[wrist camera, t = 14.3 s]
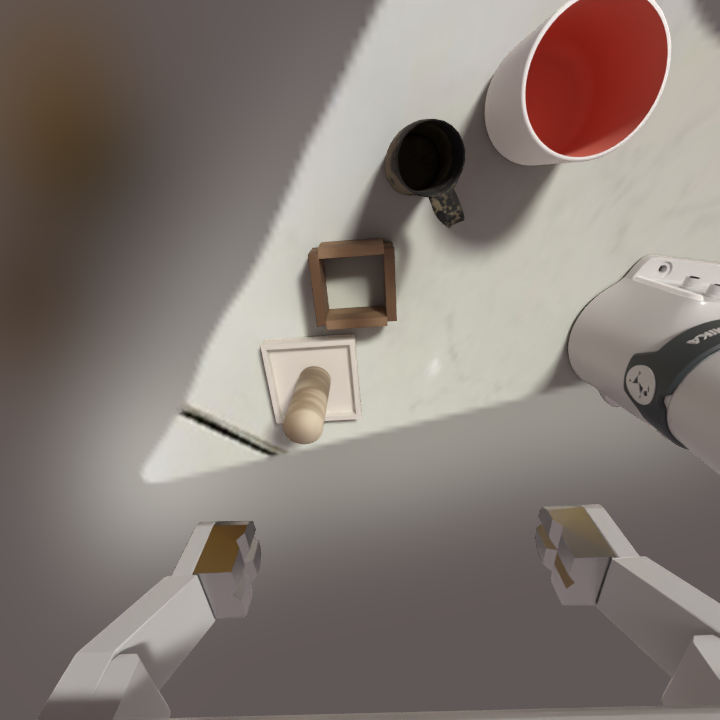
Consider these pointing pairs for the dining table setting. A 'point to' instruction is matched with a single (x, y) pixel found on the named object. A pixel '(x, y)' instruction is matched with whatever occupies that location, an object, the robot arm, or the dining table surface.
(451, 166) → the mug
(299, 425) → the dowel
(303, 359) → the tray
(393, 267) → the holder
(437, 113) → the dining table surface
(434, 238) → the dining table surface
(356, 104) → the dining table surface
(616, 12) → the cup
